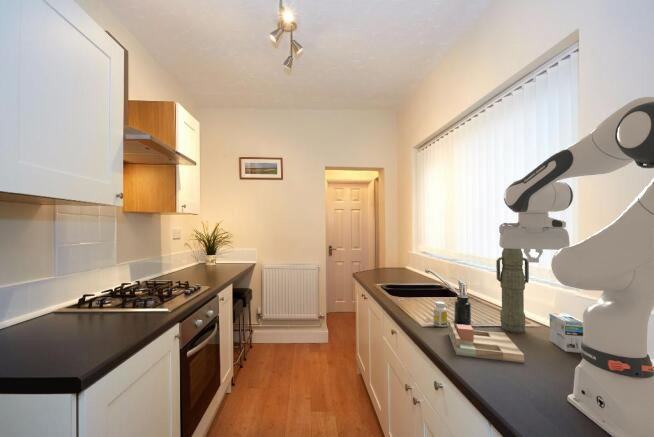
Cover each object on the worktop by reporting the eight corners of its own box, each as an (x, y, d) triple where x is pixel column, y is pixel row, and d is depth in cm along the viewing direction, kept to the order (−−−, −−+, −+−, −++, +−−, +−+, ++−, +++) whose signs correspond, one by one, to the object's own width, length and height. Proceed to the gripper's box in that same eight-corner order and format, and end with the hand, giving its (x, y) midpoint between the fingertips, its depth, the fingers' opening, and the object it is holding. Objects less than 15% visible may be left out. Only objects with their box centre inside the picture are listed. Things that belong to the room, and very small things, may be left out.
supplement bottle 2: (451, 321, 134) (450, 295, 135) (461, 319, 138) (461, 293, 138) (464, 326, 128) (464, 298, 129) (474, 324, 131) (474, 296, 132)
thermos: (493, 325, 130) (492, 245, 131) (521, 326, 129) (521, 246, 130) (502, 332, 121) (502, 247, 122) (533, 333, 120) (532, 247, 121)
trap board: (524, 362, 94) (523, 345, 94) (456, 354, 99) (456, 338, 100) (504, 339, 113) (504, 325, 113) (448, 334, 119) (448, 320, 119)
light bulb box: (587, 354, 101) (587, 322, 101) (565, 352, 102) (564, 320, 103) (568, 342, 112) (568, 313, 112) (548, 340, 113) (548, 312, 113)
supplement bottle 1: (447, 324, 131) (447, 301, 131) (446, 327, 126) (446, 304, 126) (434, 322, 133) (434, 300, 134) (433, 325, 128) (433, 303, 129)
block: (473, 341, 105) (473, 329, 105) (458, 339, 106) (458, 328, 106) (470, 336, 110) (470, 325, 110) (456, 334, 111) (456, 324, 111)
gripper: (501, 222, 102) (502, 262, 102) (571, 222, 97) (572, 264, 96) (496, 222, 108) (496, 260, 108) (562, 222, 103) (562, 262, 102)
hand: (533, 262), depth 102 cm, fingers closed
